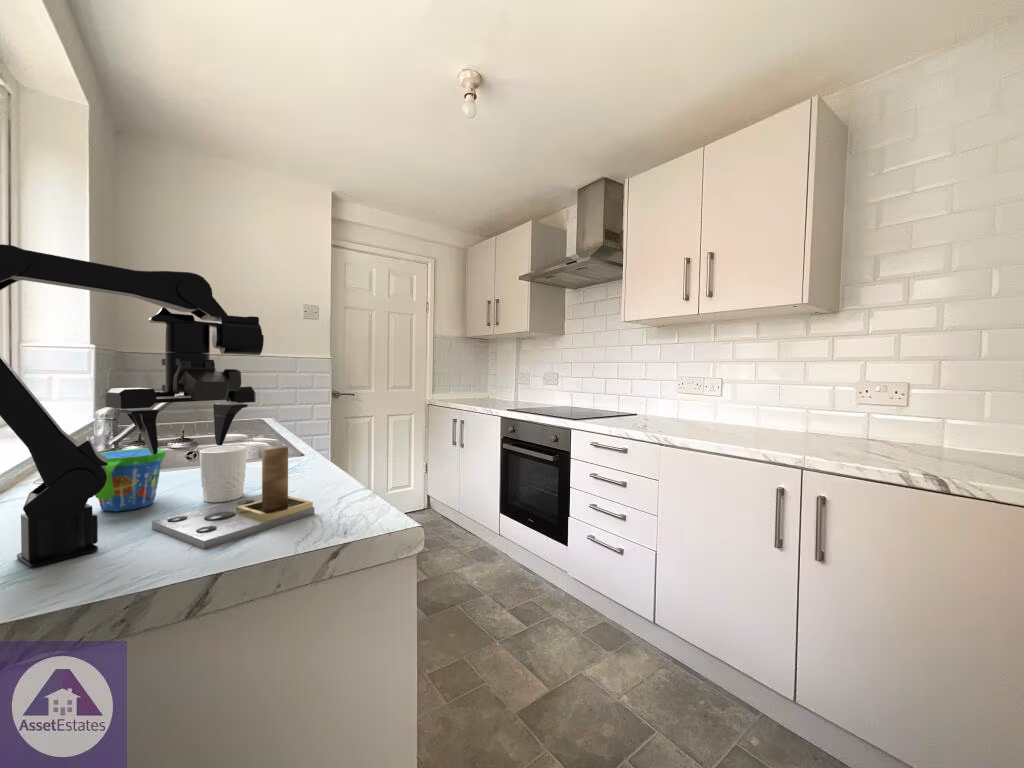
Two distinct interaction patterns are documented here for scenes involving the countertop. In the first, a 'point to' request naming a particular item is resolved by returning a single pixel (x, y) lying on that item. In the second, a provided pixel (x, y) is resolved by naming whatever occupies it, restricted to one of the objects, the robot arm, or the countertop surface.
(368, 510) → the countertop surface
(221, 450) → the white cup
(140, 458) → the snack cup
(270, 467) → the dowel
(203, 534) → the flange plate
